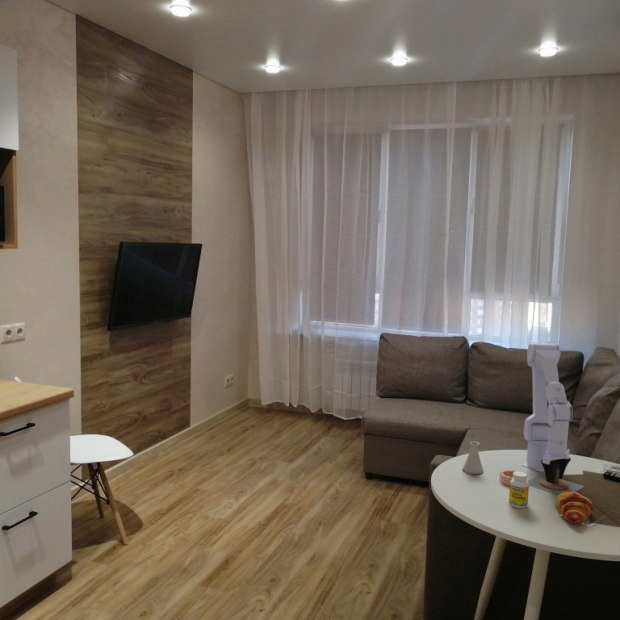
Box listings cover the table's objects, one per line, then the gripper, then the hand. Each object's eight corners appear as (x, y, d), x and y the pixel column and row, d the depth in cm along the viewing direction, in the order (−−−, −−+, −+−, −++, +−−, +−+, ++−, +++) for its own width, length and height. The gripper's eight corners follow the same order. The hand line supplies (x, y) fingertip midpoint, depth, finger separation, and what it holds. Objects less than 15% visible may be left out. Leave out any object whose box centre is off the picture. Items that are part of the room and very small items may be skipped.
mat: (543, 474, 209) (543, 473, 209) (584, 487, 198) (584, 486, 198) (523, 484, 199) (523, 483, 199) (565, 498, 189) (565, 497, 189)
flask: (481, 468, 213) (483, 440, 212) (485, 475, 206) (487, 447, 205) (460, 466, 214) (462, 439, 213) (463, 474, 206) (465, 445, 205)
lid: (547, 477, 205) (548, 462, 205) (573, 485, 199) (575, 470, 198) (534, 483, 199) (535, 468, 199) (561, 492, 193) (562, 476, 192)
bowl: (507, 477, 205) (507, 468, 205) (527, 483, 200) (528, 475, 200) (495, 482, 200) (496, 473, 200) (516, 489, 195) (516, 480, 195)
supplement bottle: (527, 502, 185) (529, 472, 184) (527, 509, 180) (530, 478, 179) (508, 499, 187) (510, 469, 186) (508, 506, 182) (510, 475, 181)
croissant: (560, 508, 190) (549, 484, 191) (592, 498, 187) (581, 474, 187) (563, 537, 170) (551, 510, 171) (600, 526, 167) (587, 499, 168)
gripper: (559, 447, 189) (555, 489, 191) (579, 438, 199) (576, 478, 201) (537, 441, 195) (534, 482, 196) (558, 433, 204) (555, 472, 206)
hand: (554, 480), depth 199 cm, fingers open, 5 cm apart
